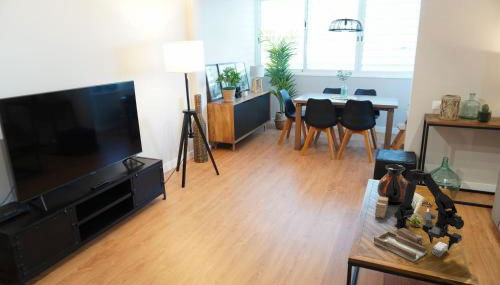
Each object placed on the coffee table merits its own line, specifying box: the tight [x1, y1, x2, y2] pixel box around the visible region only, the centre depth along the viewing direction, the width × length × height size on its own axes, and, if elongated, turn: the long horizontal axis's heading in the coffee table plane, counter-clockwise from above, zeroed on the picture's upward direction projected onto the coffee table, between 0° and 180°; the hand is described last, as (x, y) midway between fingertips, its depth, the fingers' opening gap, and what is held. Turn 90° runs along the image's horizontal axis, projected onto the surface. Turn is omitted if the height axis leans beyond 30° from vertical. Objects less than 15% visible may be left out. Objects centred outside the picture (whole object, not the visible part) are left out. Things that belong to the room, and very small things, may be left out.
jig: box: [373, 229, 428, 263], centre depth 194 cm, size 14×24×4 cm, turn 36°
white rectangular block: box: [431, 241, 448, 258], centre depth 189 cm, size 9×4×4 cm, turn 131°
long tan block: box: [397, 228, 424, 246], centre depth 201 cm, size 5×14×5 cm, turn 25°
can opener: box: [424, 207, 436, 225], centre depth 225 cm, size 19×6×5 cm, turn 151°
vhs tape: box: [421, 201, 433, 208], centre depth 249 cm, size 14×8×2 cm, turn 144°
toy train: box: [374, 196, 388, 219], centre depth 234 cm, size 6×17×10 cm, turn 151°
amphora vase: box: [376, 163, 408, 207], centre depth 248 cm, size 22×22×28 cm
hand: (439, 246), depth 189 cm, fingers open, 9 cm apart
